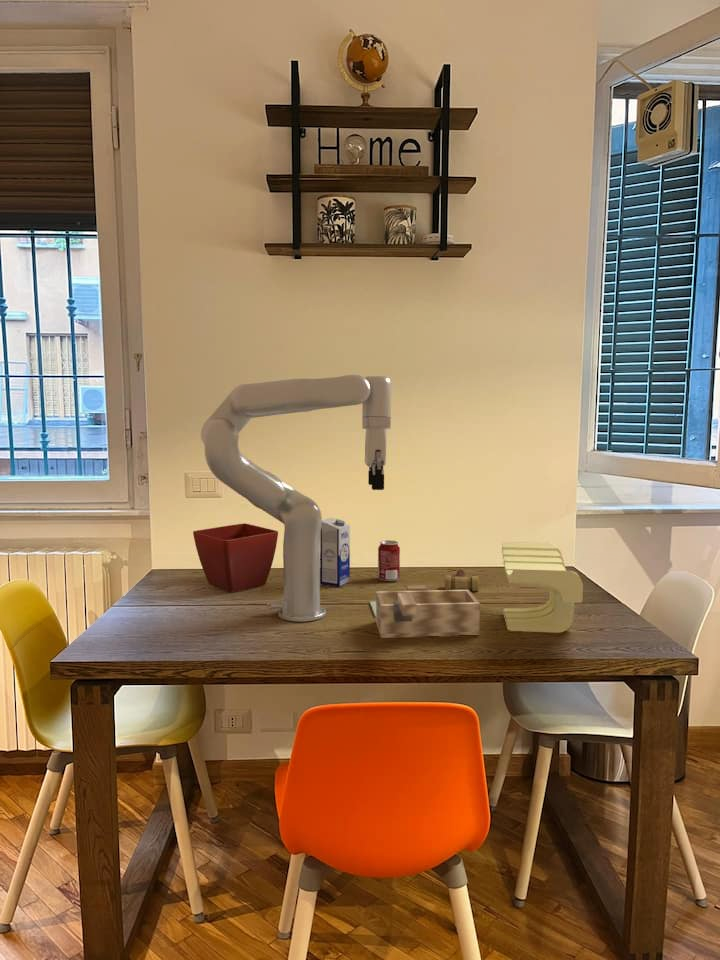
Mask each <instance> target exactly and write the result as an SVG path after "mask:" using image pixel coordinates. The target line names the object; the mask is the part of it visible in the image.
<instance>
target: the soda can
mask: <svg viewBox="0 0 720 960" xmlns="http://www.w3.org/2000/svg"><path fill="white" fill-rule="evenodd" d="M379 543H380V544H379V546H378V549H377V557H378V558H377V561H378V562H377V578H378V579H379V580H380V581H381V582H385V581H393V582H396V581H398V580H399V579H400V574H401V573H400V569H401V566H400V565H401V564H400V563H401V560H400V559H401V557H400V555H401V549H400V546H399V542H398V541H397V540H396V541H395V540H392V539H391V540H388V539H387V540H382V541H379Z"/></svg>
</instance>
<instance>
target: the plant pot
mask: <svg viewBox="0 0 720 960" xmlns="http://www.w3.org/2000/svg"><path fill="white" fill-rule="evenodd" d="M192 534H193V539H194V540H193V541H194V543H195V548H196V551H197V555H198V559H199V562H200V565H201V568H202V571H203V572H204V575H205V578H206V580H207V583H208V585H209V584H210V585H209V586H211V585H212V587H214V588H217V589H219V590H222V591H225V592H228V593H235V592H240V591H244V590H249V589H253V588H257V587H258V588H259V587H262V586H265V585H266V583H267V580H268V579H269V575H270V572H271V568H272V565H273V563H274V559H275V553H276V549H277V543H278V537H279V530H275V529H270V528H268V527H267V528H266V527H262V526H257V525H254V524H250V523H245V522H244V523H238V524H237V523H236V524H230V525H229V524H228V525H224V526H216V527H212V528H203V529H199V530H194V531H192Z"/></svg>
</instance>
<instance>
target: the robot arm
mask: <svg viewBox="0 0 720 960" xmlns="http://www.w3.org/2000/svg"><path fill="white" fill-rule="evenodd" d="M391 398H392V381H391V379H390V377H388V376H384V375H383V376H381V375H380V376H379V375H370V376H365V377H364V376H362V375H360V374H347V375H346V374H345V375H341V376H335V377H325V378H291V379H290V378H289V379H283V380H281V379H280V380H274V381H272V380H271V381H263V382H254V383H253V382H252V383H244V384H243V383H242V384H239V385H237V386H235V387H234V388H233V389H232V390H231V391H230V392H229V394H228V395H227V396H226V397H225V398H224V400H223V401H222V402H221V403H220V405H219V406H218V407H217V408H216V409H215V410H214V411H213V413H211V415H210V416H209V417H208V418H207V419H206V421H204V423H203V425H202V427H201V430H200V438H201V441H202V443H203V445H204V458H205V461H206V463H207V466H208V468H209V470H210V471H211V473H212V474H213V476H214V477H215V478H217V479H218V480H219V481H220V482H221V483H223V484H224V485H226V486H227V487H228V488H230V489H231V490H232V491H234V492H236V493H237V494H238V495H240V496H241V497H242V498H245V500H247V501H248V502H250V504H252V505H253V506H254V507H255V508H257V509H260V510H262V511H264V512H265V513H267V514H268V515H269V516H271V517H272V518H274V519H275V520H277V521H279V522H280V523H281V524H283V526H284V529H283V530H284V531H283V541H282V542H283V543H282V545H283V546H282V548H283V549H282V550H283V551H282V553H283V555H282V557H283V558H282V559H283V595H282V598H278V599H266V607H267V608H270V609H271V610H272V609H273V610H274V609H275V610H276V609H278V611H277V615H278V617H279V619H283V620H284V621H288V622H289V621H290V622H296V623H297V622H313V621H317V620H320V619H322V618H324V617H325V616H326V615H327V611H326V608H325V607H324V606H322V605H321V585H320V532H321V524H322V520H323V518H322V513H321V512H322V511H321V509H320V507H319V505H318V503H316V502H315V501H314V500H313V499H312V498H310V497H309V496H307V495H305V494H303V493H301V492H299V490H297V489H295V488H294V487H292V486H291V485H289V484H288V483H286V482H284V480H282V479H280V477H277V476H276V475H275V474H273V473H271V472H270V471H267V470H265V469H263V468H261V467H260V466H258V465H257V464H255V463H254V462H253V461H252V460H251V459H248V458H247V457H245V456H244V455H243V453H242V452H241V450H240V448H239V438H240V437H239V433H240V432H241V431H242V430H243V428H245V427H246V425H247V424H248V422H249V421H250V420H251V419H254V418H263V417H270V416H271V417H272V416H277V415H278V416H279V415H287V414H295V413H306V412H313V411H317V410H324V409H333V408H340V407H341V408H342V407H348V406H351V407H352V406H359V405H361V404H362V408H361V409H362V410H361V413H362V414H361V415H362V420H361V421H362V422H361V424H362V425H361V428H362V429H364V430H365V438H364V439H365V440H364V441H365V442H364V465H366V466H367V467H368V474H367V475H368V476H367V477H368V478H367V479H368V485H369V486H371V490H373V491H383V490H384V489H385V474H384V473H385V472H384V467H385V466H386V462H387V461H386V460H387V430H391V426H392V425H391V424H392V423H391V420H392V419H391V412H392V411H391V410H392V406H391V405H392V399H391Z"/></svg>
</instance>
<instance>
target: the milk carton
mask: <svg viewBox="0 0 720 960" xmlns="http://www.w3.org/2000/svg"><path fill="white" fill-rule="evenodd" d="M350 534H351V524H349V523H346V522H345V521H344V520H342V519H338V518H333V517H328V518H325V519H322V524H321V532H320V584H322V585H321V586H326V585H329V586H328V587H333V586H335V588H341V587H342V586H344V584H345V585H347V584H349V583H350V580H351V576H350V575H351V573H350V571H351V570H350V568H351V567H350V566H351V564H350V563H351V559H350V558H351V555H350V554H351V552H350V551H351V549H350V548H351V545H350V543H351V542H350V541H351V540H350V539H351V537H350V536H351V535H350ZM348 582H349V583H348ZM346 583H347V584H346Z"/></svg>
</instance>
